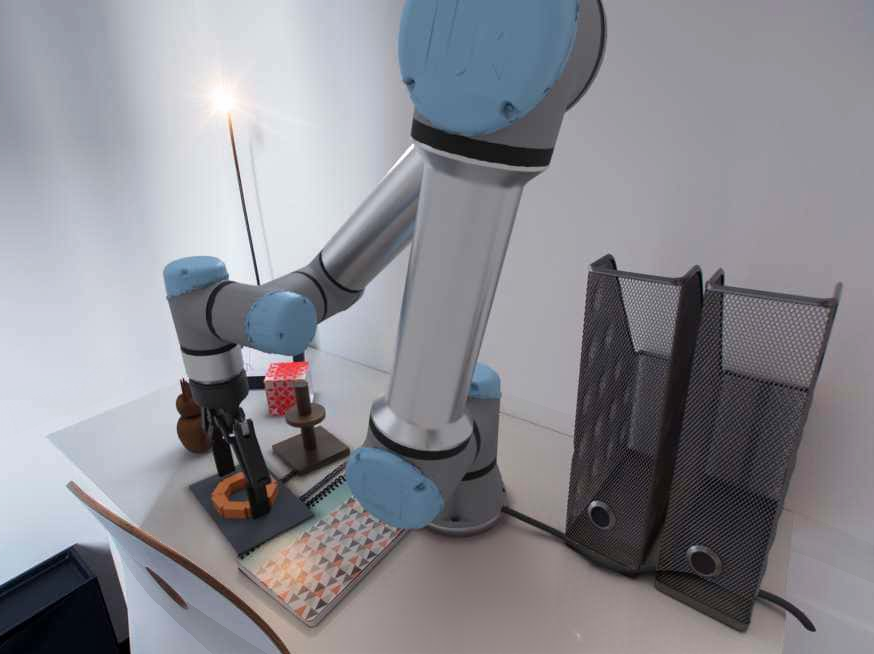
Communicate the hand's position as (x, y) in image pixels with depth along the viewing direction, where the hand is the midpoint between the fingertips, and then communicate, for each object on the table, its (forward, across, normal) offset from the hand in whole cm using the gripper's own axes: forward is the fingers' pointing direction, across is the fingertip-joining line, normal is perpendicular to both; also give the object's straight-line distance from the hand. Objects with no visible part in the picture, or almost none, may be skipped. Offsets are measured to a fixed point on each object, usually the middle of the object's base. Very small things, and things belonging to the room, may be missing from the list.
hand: (243, 492), depth 84 cm
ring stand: (+1, +3, -14) cm, 15 cm away
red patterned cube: (+2, +21, -20) cm, 29 cm away
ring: (0, -1, 0) cm, 1 cm away
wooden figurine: (+2, +18, 0) cm, 18 cm away
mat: (+1, -2, 0) cm, 2 cm away
